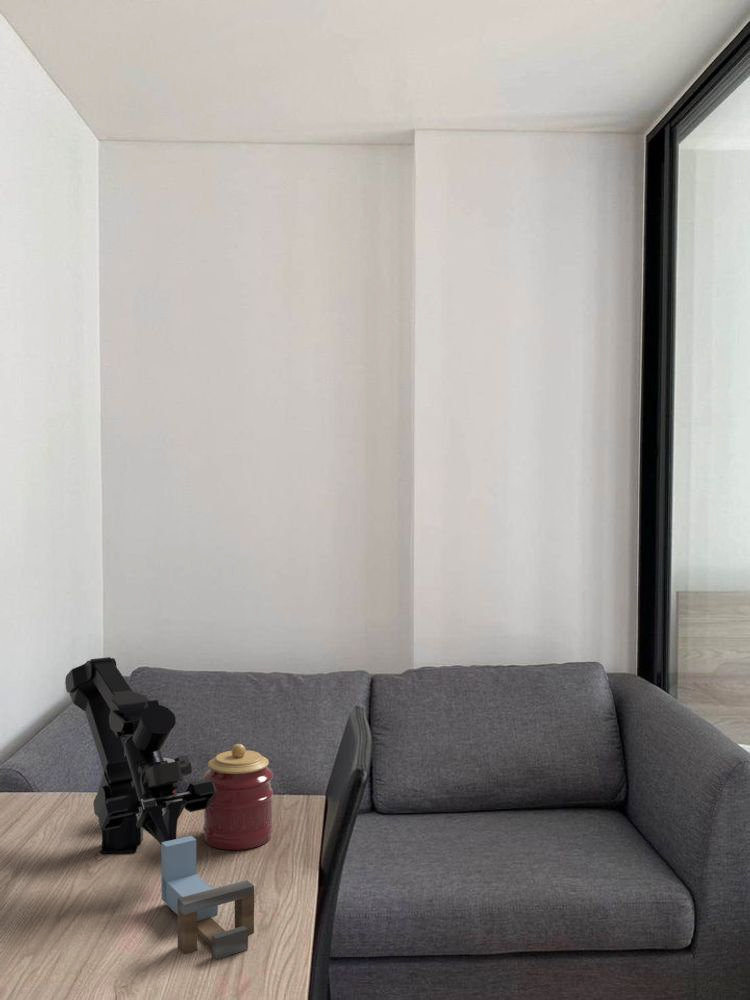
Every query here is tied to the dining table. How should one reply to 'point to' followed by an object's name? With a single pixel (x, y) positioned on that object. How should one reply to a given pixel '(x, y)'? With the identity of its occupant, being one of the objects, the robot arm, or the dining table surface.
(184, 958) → the dining table surface
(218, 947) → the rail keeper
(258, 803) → the canister
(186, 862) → the light blue l-shaped block
